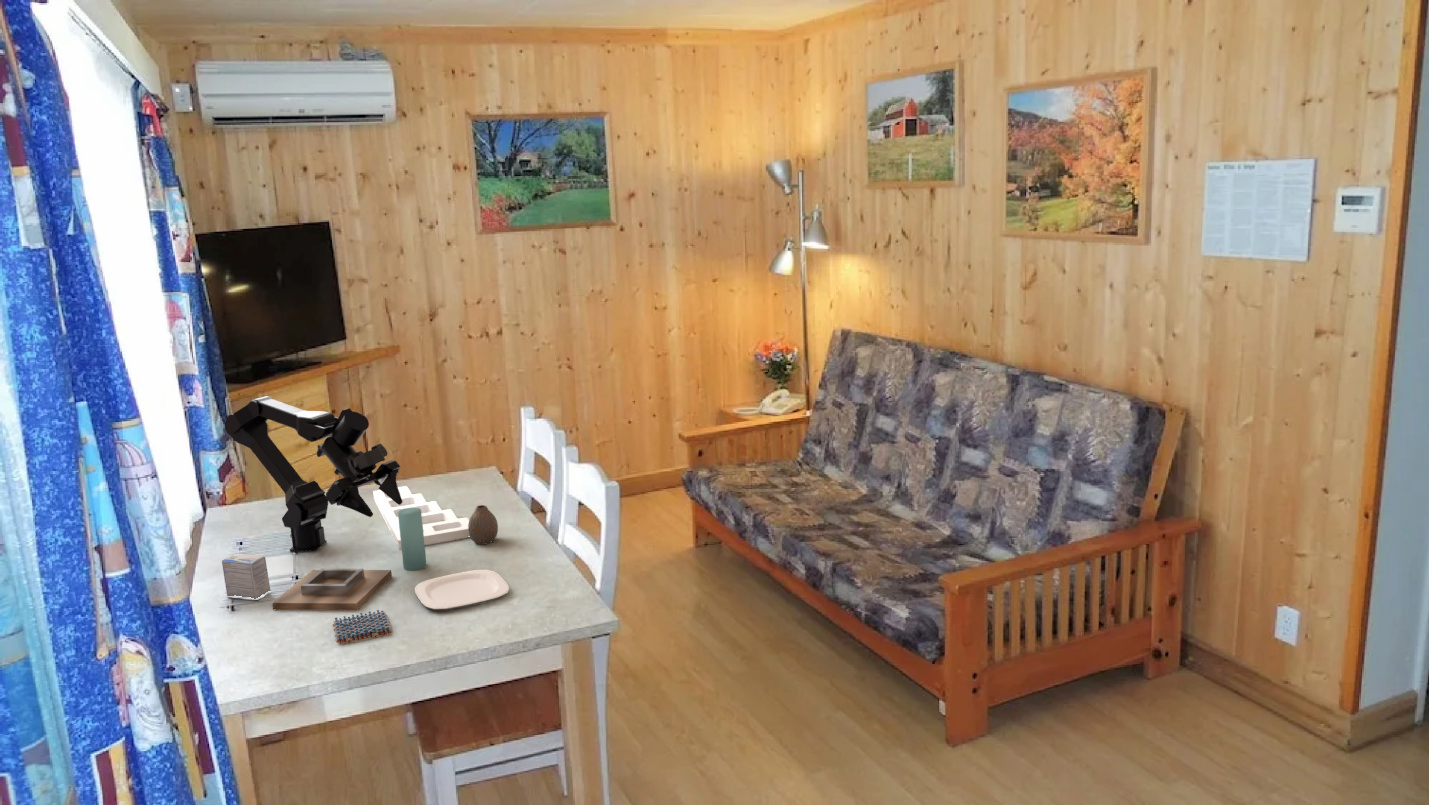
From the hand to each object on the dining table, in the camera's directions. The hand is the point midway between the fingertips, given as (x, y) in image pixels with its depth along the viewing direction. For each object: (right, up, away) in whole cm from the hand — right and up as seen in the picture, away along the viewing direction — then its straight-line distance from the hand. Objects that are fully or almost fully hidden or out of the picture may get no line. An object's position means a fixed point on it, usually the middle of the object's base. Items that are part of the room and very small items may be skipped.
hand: (386, 509), depth 238 cm
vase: (+19, -9, +14) cm, 25 cm away
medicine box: (-25, -17, -14) cm, 33 cm away
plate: (+21, -17, -16) cm, 31 cm away
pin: (+6, -13, 0) cm, 14 cm away
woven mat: (+5, -21, -32) cm, 39 cm away
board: (-7, -16, -13) cm, 22 cm away
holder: (-2, -6, +35) cm, 35 cm away
